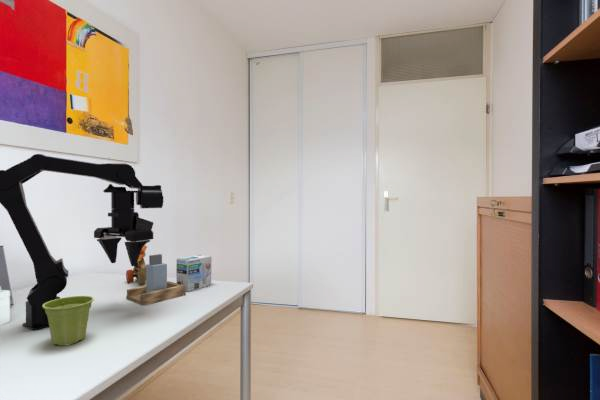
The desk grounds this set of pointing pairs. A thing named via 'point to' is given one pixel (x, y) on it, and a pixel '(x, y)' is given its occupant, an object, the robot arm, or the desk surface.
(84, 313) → the plant pot
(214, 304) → the desk surface
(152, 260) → the box with grey fin
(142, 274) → the toy helicopter
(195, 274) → the light bulb box
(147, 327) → the desk surface
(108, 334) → the desk surface
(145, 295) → the cradle
